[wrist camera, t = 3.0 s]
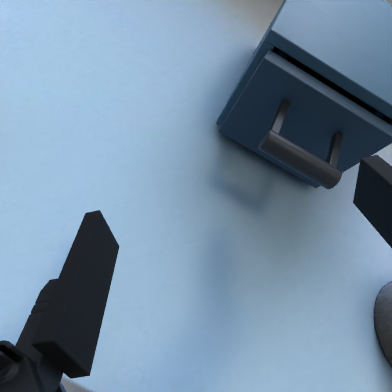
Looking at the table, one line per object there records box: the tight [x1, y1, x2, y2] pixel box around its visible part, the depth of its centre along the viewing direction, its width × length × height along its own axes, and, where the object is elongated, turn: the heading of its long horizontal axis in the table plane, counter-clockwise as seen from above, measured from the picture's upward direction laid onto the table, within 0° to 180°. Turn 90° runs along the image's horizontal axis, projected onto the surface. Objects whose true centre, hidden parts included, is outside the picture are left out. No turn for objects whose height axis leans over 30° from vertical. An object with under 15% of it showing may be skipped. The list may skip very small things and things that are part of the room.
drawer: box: [219, 46, 392, 189], centre depth 26 cm, size 19×12×9 cm, turn 155°
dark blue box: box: [216, 0, 392, 126], centre depth 28 cm, size 15×13×11 cm
